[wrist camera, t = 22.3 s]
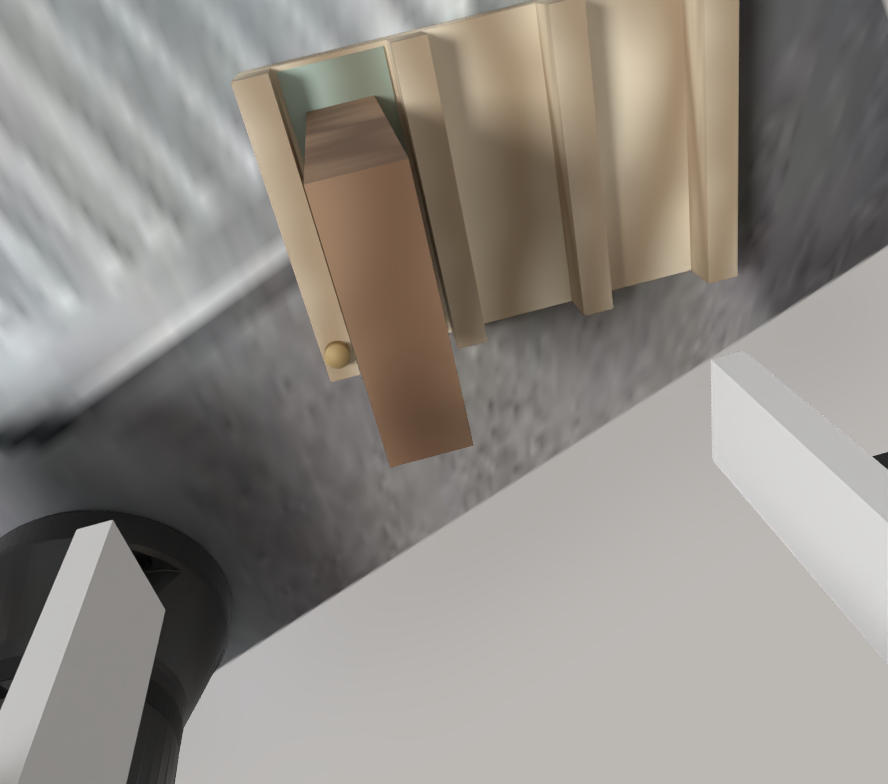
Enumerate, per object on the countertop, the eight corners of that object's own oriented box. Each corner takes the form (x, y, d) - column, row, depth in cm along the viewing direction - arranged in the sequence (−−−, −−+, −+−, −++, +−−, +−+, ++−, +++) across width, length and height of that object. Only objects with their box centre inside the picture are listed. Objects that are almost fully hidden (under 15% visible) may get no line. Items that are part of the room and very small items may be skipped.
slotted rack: (329, 350, 39) (331, 388, 35) (238, 72, 31) (229, 84, 28) (704, 253, 39) (743, 280, 36) (699, -40, 32) (747, -43, 29)
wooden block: (365, 318, 36) (388, 467, 25) (305, 112, 31) (301, 185, 20) (424, 302, 36) (474, 445, 25) (374, 94, 31) (410, 158, 20)
